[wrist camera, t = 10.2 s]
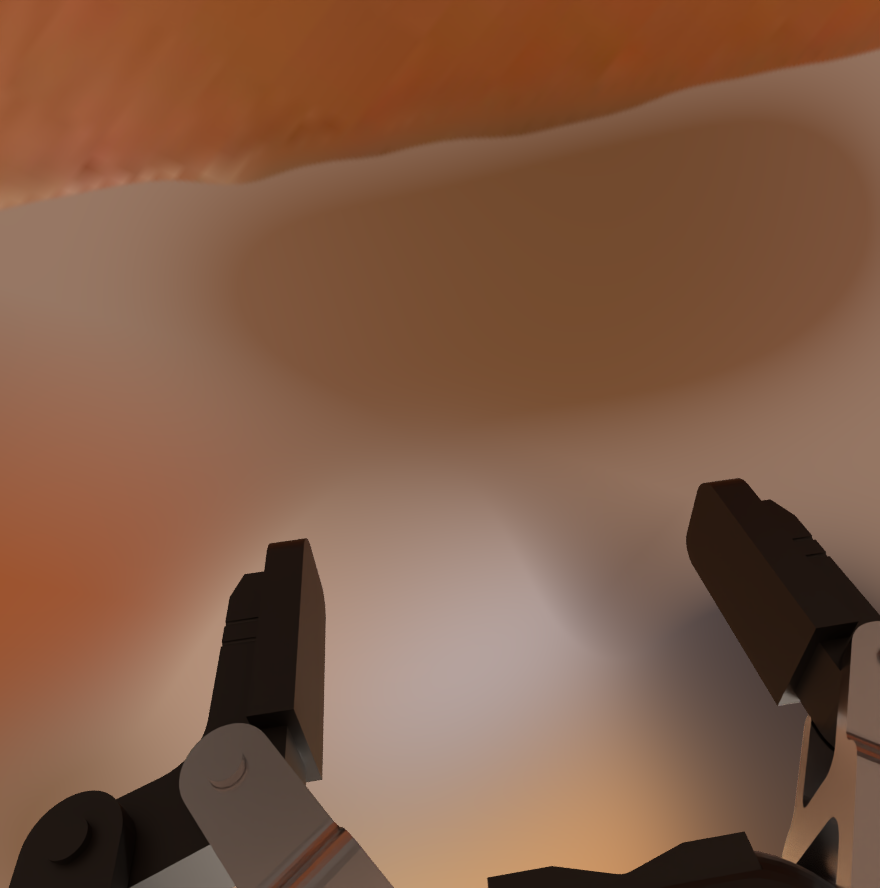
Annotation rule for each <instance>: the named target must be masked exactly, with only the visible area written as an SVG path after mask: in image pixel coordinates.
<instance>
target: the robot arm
mask: <svg viewBox="0 0 880 888" xmlns="http://www.w3.org/2000/svg"><path fill="white" fill-rule="evenodd" d="M686 545H687V551H688V554H689V558H690V560H691V563H692V565H693V566H694V568H695V570H696V571H697V573H698V575H699V576H700V578H701V580H702V581H703V583H704V585H705V586H706V588H707V590H708V591H709V593H710V595H711V596H712V598H713V599H714V601H715V603H716V605H717V606H718V608H719V609H720V611H721V613H722V614H723V616H724V618H725V619H726V621H727V623H728V624H729V626H730V628H731V629H732V631H733V633H734V634H735V636H736V638H737V639H738V641H739V643H740V644H741V646H742V648H743V649H744V651H745V653H746V654H747V656H748V658H749V659H750V661H751V662H752V664H753V666H754V668H755V669H756V671H757V672H758V674H759V676H760V677H761V679H762V681H763V682H764V684H765V686H766V687H767V689H768V691H769V692H770V694H771V695H772V697H773V699H774V701H775V702H776V704H777V706H780V705H786V704H792V703H798V702H801V703H802V705H803V706H804V708H805V709H806V711H807V713H808V714H809V715H808V717H807V718H806V720H805V725H804V732H803V741H802V750H801V758H800V766H799V775H798V783H797V792H796V801H795V808H794V815H793V820H792V823H791V827H790V830H789V833H788V835H787V838H786V842H785V845H784V849H783V853H782V858H780V857H778V856H774V855H771V854H767V853H762V852H759V851H753V849H752V846H751V844H750V842H749V840H748V838H747V836H746V834H745V832H740V833H734V834H729V835H723V836H718V837H712V838H706V839H701V840H695V841H690V842H684V843H682V844H679V845H678V846H676V847H674V848H672V849H670V850H669V851H667V852H665V853H663V854H661V855H660V856H658V857H656V858H654V859H653V860H651V861H649V862H647V863H645V864H644V865H642V866H640V867H638V868H636V869H635V870H633V871H631V872H629V873H626V874H611V873H602V872H594V871H587V870H579V869H570V868H563V867H553V866H550V867H545V868H539V869H533V870H528V871H522V872H516V873H511V874H505V875H500V876H494V877H489V878H487V879H488V888H880V615H879V614H878V613H877V611H876V610H875V609H874V608H873V607H872V606H871V604H870V603H869V602H868V601H867V600H866V599H865V597H864V596H863V595H862V594H861V593H860V592H859V590H858V589H857V588H856V587H855V586H854V584H853V583H852V582H851V581H850V580H849V578H848V577H847V576H846V575H845V574H844V573H843V572H842V570H841V569H840V568H839V567H838V566H837V564H836V563H835V562H834V561H833V560H832V558H831V557H829V556H828V557H827V555H826V551H824V549H823V548H822V547H821V546H820V545H819V543H818V542H817V541H816V540H813V539H812V535H811V534H810V533H809V531H808V530H807V529H806V528H805V527H804V526H803V524H802V523H801V522H800V521H799V520H798V519H797V517H796V516H795V515H793V514H792V513H790V512H789V511H787V510H786V509H784V508H783V507H781V506H780V505H778V504H776V503H775V502H773V501H772V500H764V501H761V500H760V499H759V497H758V496H757V495H756V494H755V492H754V491H753V490H752V489H751V487H750V486H749V485H748V484H747V483H746V482H745V481H744V480H742V479H740V478H736V479H729V480H722V481H715V482H708V483H703V484H701V485H700V486H699V488H698V491H697V495H696V499H695V502H694V507H693V511H692V515H691V519H690V523H689V527H688V531H687V536H686ZM325 616H326V615H325V602H324V594H323V589H322V585H321V582H320V578H319V575H318V571H317V568H316V564H315V561H314V557H313V554H312V550H311V546H310V543H309V541H308V539H307V538H305V539H298V540H292V541H285V542H277V543H271V544H269V545H268V548H267V555H266V562H265V570H264V572H258V573H251V574H245V575H244V576H243V578H242V579H241V581H240V582H239V584H238V585H237V587H236V588H235V590H234V592H233V593H232V595H231V596H230V599H229V605H228V610H227V616H226V626H225V627H224V633H223V639H222V647H221V650H220V655H219V661H218V667H217V672H216V678H215V684H214V689H213V695H212V701H211V706H210V712H209V717H208V722H207V726H206V729H205V732H204V734H203V737H202V738H201V740H200V741H199V742H198V743H197V744H196V745H195V746H194V747H193V749H192V750H191V751H190V753H189V754H188V756H187V758H186V759H185V761H184V762H183V763H181V764H180V765H179V766H178V767H177V768H175V769H174V770H172V771H171V772H170V773H168V774H166V775H164V776H163V777H161V778H159V779H157V780H155V781H153V782H151V783H149V784H147V785H145V786H143V787H141V788H138V789H137V790H134V791H133V792H130V793H128V794H126V795H124V796H122V797H120V798H118V799H115V798H114V797H113V796H111V795H109V794H108V793H105V792H101V791H86V792H81V793H78V794H75V795H73V796H71V797H68V798H66V799H65V800H63V801H61V802H60V803H58V804H57V805H55V806H54V807H53V808H52V809H50V810H49V811H48V812H47V813H46V814H45V815H44V816H43V817H42V818H41V819H40V820H39V821H38V822H37V823H36V825H35V826H34V827H33V829H32V830H31V832H30V833H29V835H28V836H27V838H26V840H25V842H24V844H23V846H22V848H21V851H20V854H19V857H18V860H17V863H16V866H15V870H14V873H13V876H12V879H11V883H10V885H9V888H233V887H234V886H236V887H237V888H394V887H393V886H392V885H391V884H390V882H389V881H388V880H387V879H386V877H385V876H384V875H383V874H382V872H381V871H380V870H379V869H378V867H377V866H376V865H375V864H374V862H372V860H371V859H370V857H369V856H368V855H367V854H366V853H365V851H364V850H363V849H362V847H361V846H360V845H359V844H358V842H357V841H356V840H355V839H354V838H353V837H352V836H351V835H350V833H349V832H348V831H347V830H345V829H344V828H343V827H339V826H338V825H337V824H336V823H335V822H334V821H333V820H332V818H331V817H330V816H329V815H328V814H327V812H326V811H325V810H324V809H323V807H322V806H321V805H320V803H319V802H318V801H317V800H316V798H315V797H314V796H313V794H312V793H311V792H310V791H309V789H307V787H306V782H310V781H317V780H322V763H323V761H322V759H323V716H324V669H325V666H324V665H325V621H326V617H325Z"/></svg>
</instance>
